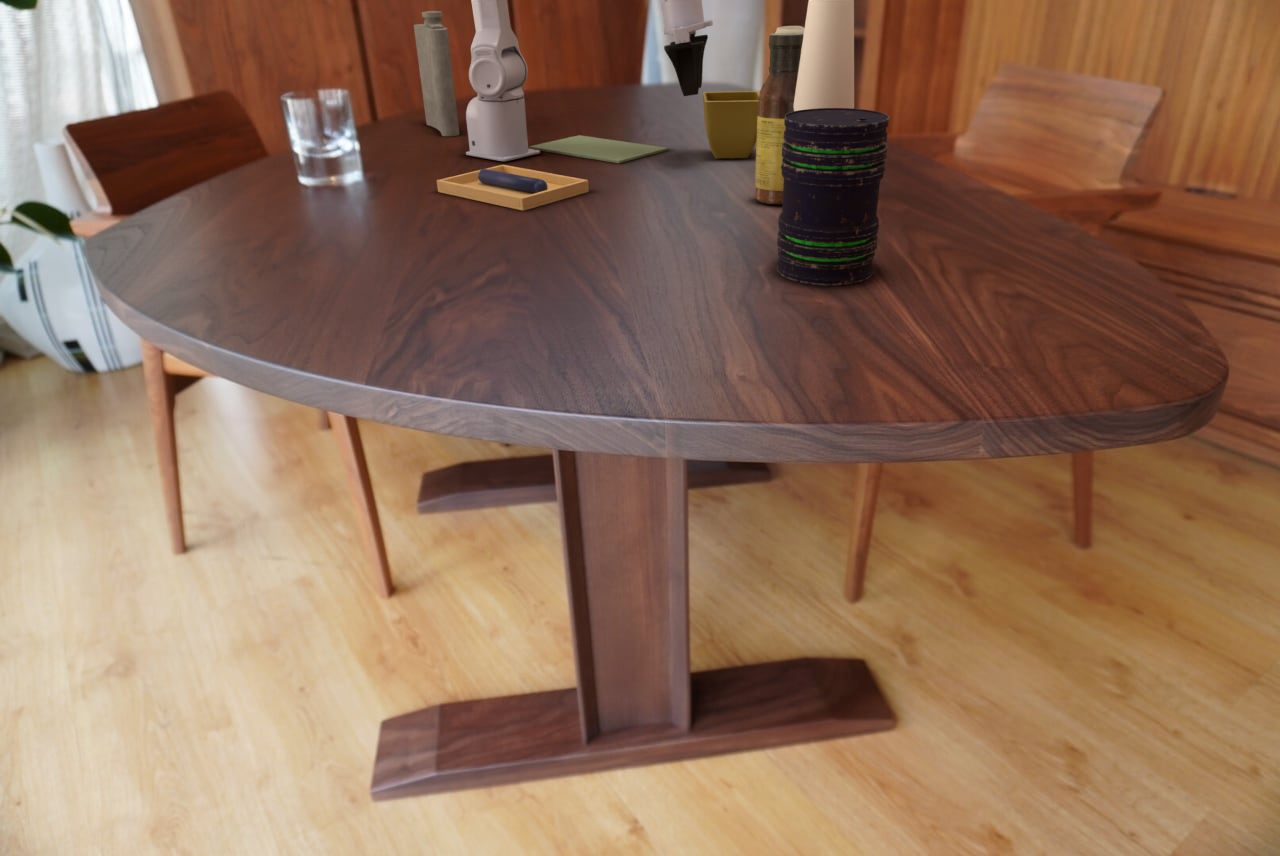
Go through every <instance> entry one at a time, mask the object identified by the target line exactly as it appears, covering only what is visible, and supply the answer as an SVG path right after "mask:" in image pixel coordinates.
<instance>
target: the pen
mask: <svg viewBox="0 0 1280 856" xmlns="http://www.w3.org/2000/svg"><path fill="white" fill-rule="evenodd" d="M482 169H483V170H482ZM482 169H480V170H481V171H480V172H479V174H478V179H479V181H480V182H482V183H484V184H488V185H493V186H498V187H503V188H508V189H513V190H518V191H523V192H528V193H533V194H535V193H538V192H542V191H546V190H547V189H548V186H547V183H546V182H545V181H544V180H541V179H536V178H531V177H525V176H520V175H515V174H509V173H504V172H499V171H493V170H488V169H487V168H482Z"/></svg>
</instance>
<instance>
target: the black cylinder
mask: <svg viewBox="0 0 1280 856" xmlns="http://www.w3.org/2000/svg"><path fill="white" fill-rule="evenodd" d="M889 122H890V115H888V114H886V113H884V112H881V111H876V110H870V109H863V108H862V109H861V108H854V109H851V108H818V109H806V110H799V111H794V112H790V113H788V114H786V115H785V120H784V125H785V126H786V130H785V131H784V143H783V144H782V157H783V159H782V166H781V169H782V176H783V178H784V186H783V205H781V206H782V207H781V213H780V214H779V216H778V222H777V224H778V231H777V237H776V240H777V241H776V245H777V247H778V248H777V255H778V260H777V263H776V271H777V273H778V274H779V275H780V276H782V277H783V278H785V279H788V280H791V281H793V282H797V283H801V284H805V285H806V284H807V285H813V286H846V285H852V284H853V285H854V284H857V283H861V282H864V281H866V280H869V279H870V278H871V277H872V276H873V273H874V264H873V262H874V259H875V258H876V250H877V249H878V240H879V235H878V233H879V229H880V224H879V223H880V219H879V217H878V205H879V194H880V186H881V181H882V179H883V178H884V173H885V172H886V167H885V166H886V165H885V164H886V159H887V154H888V145H887V142H888V132H887V129H888V128H889V124H890V123H889Z"/></svg>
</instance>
